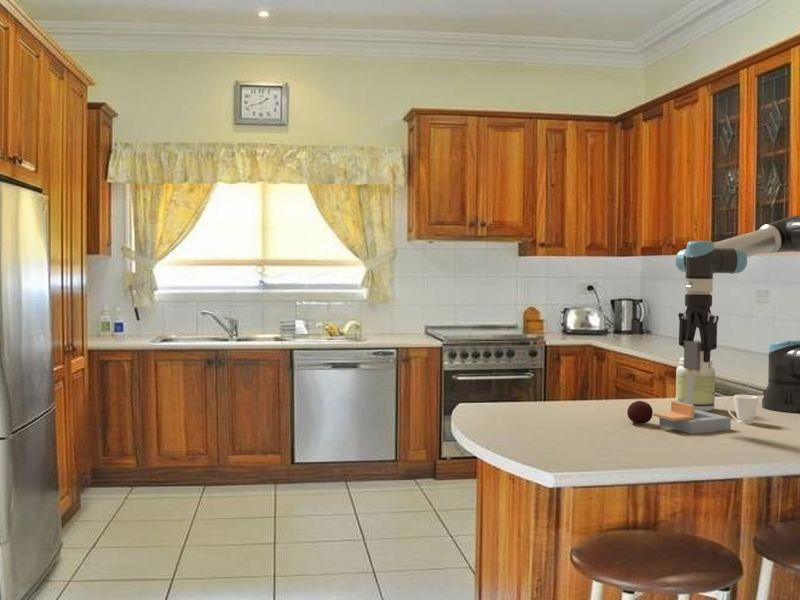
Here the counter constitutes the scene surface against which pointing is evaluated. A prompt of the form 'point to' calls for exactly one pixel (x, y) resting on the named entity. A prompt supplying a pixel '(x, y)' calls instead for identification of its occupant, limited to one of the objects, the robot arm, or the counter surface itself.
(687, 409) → the orange l-shaped bracket
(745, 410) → the cup
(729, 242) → the robot arm
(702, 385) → the supplement tub
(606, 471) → the counter surface
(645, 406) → the dark brown ball
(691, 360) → the plug
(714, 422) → the socket block
